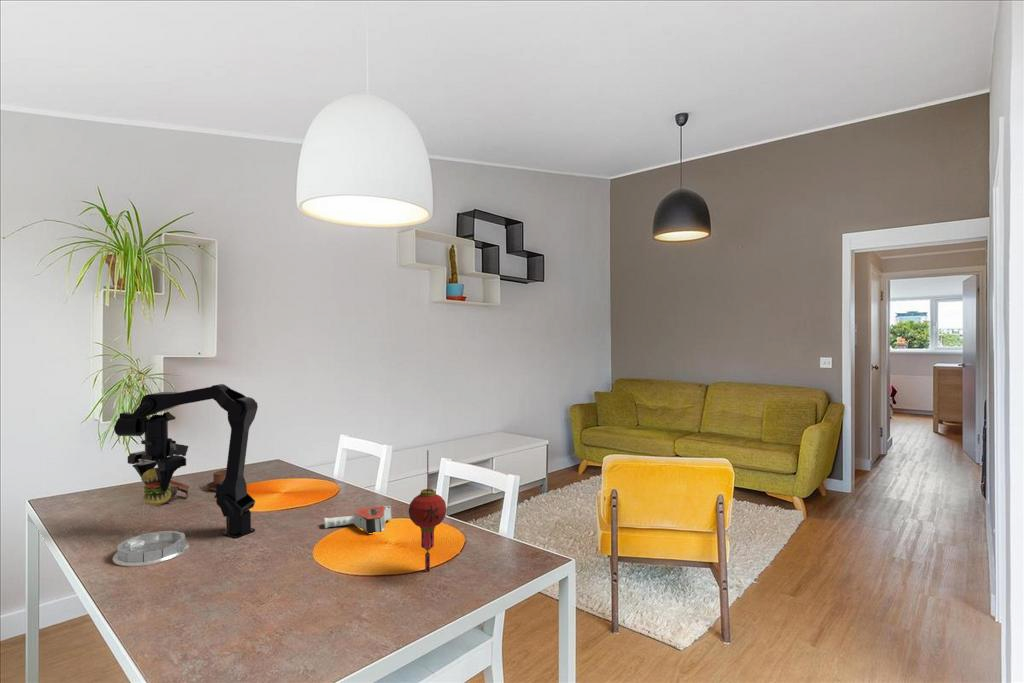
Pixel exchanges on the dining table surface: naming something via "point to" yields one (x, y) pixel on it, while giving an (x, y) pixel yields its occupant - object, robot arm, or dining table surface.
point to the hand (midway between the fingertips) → (157, 489)
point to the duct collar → (150, 548)
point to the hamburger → (154, 488)
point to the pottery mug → (175, 487)
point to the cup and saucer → (216, 479)
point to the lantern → (427, 516)
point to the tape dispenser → (364, 519)
